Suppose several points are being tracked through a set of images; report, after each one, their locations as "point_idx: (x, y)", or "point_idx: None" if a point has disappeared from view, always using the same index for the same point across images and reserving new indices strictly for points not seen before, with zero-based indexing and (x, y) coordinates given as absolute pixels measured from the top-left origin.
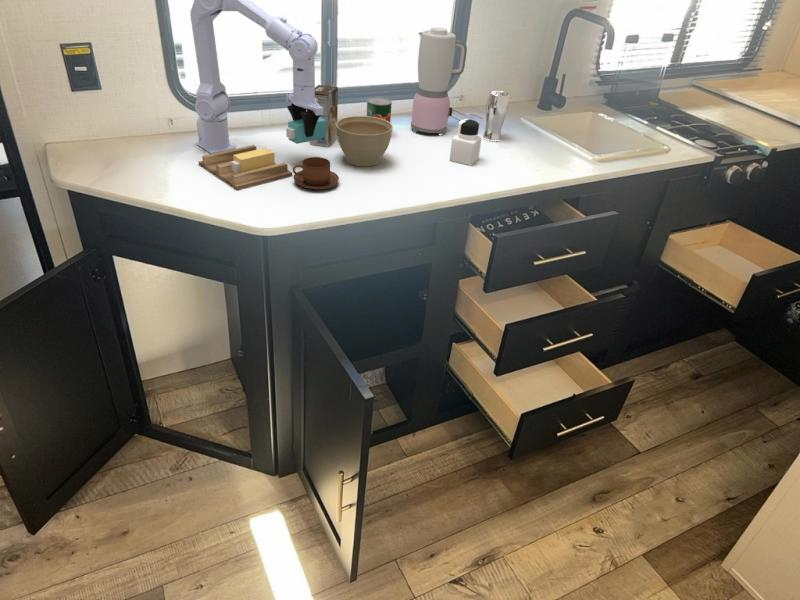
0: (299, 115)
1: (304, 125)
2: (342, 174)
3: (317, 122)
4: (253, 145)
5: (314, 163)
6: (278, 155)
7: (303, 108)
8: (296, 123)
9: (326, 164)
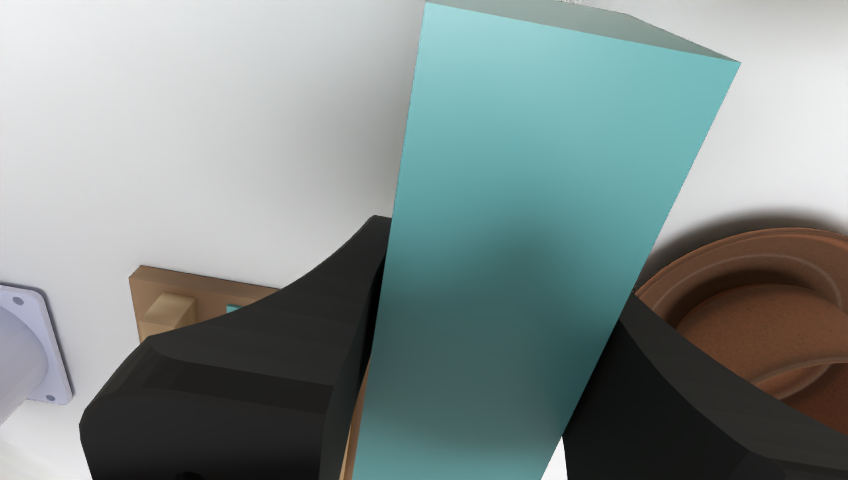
0: (348, 405)
1: (568, 442)
2: (838, 116)
3: (643, 257)
4: (147, 325)
5: (728, 353)
6: (255, 186)
7: (333, 446)
8: (462, 471)
9: (837, 334)
